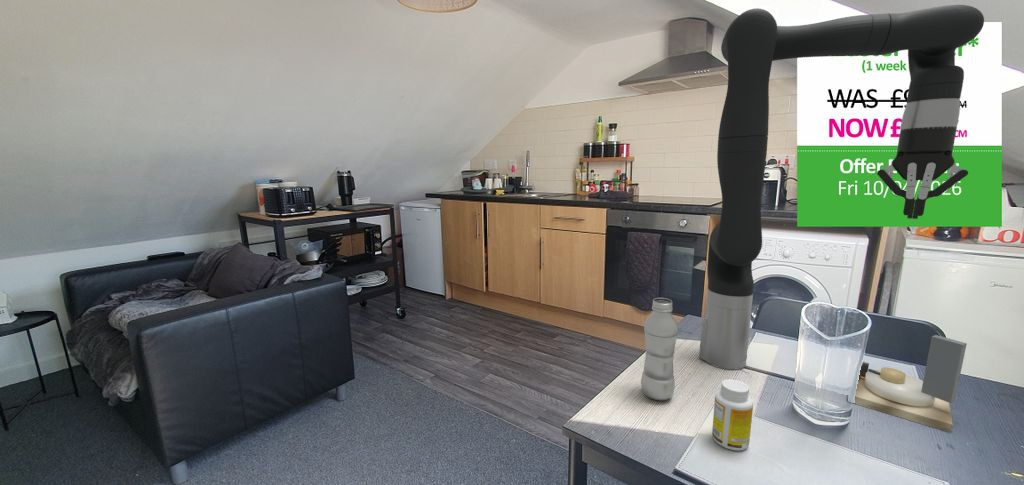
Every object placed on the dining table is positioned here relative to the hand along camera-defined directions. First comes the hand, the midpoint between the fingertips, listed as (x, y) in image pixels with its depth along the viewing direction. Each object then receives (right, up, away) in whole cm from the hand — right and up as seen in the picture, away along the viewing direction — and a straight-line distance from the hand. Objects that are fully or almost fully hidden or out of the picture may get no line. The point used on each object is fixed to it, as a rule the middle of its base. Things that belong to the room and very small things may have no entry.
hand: (912, 218), depth 80 cm
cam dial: (-3, -34, -1) cm, 34 cm away
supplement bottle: (-42, -38, -11) cm, 58 cm away
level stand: (-3, -36, 0) cm, 36 cm away
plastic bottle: (-49, -36, +3) cm, 61 cm away
